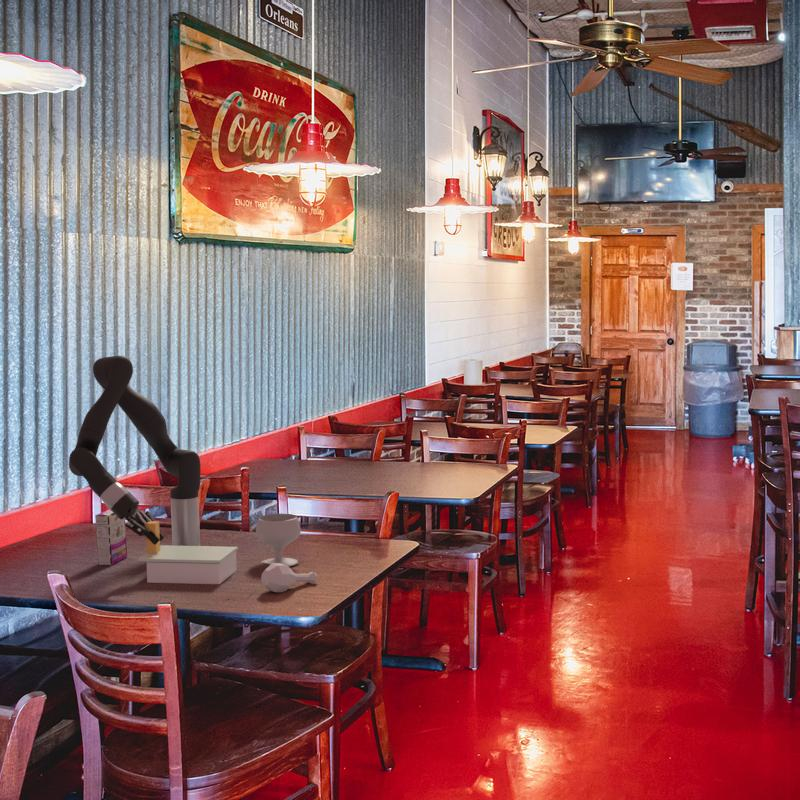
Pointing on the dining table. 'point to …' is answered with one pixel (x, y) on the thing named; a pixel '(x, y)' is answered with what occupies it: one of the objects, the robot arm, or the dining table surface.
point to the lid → (183, 551)
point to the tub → (191, 571)
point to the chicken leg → (284, 577)
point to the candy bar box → (110, 538)
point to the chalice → (278, 534)
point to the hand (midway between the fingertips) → (159, 540)
